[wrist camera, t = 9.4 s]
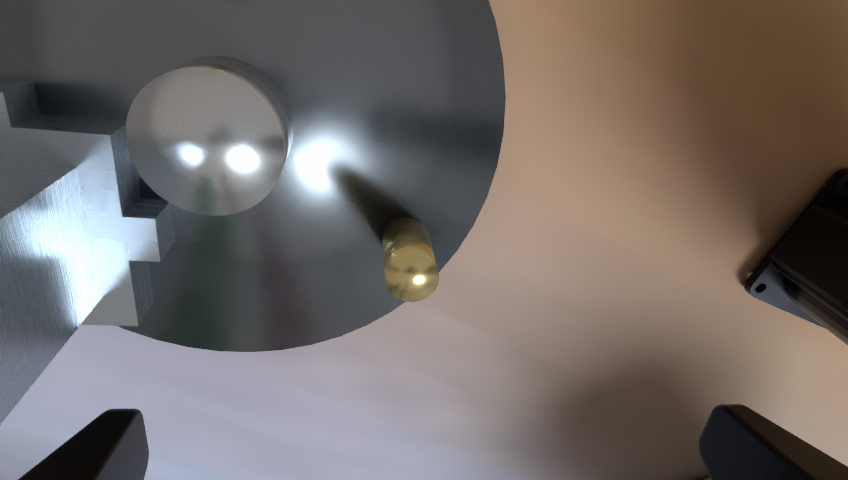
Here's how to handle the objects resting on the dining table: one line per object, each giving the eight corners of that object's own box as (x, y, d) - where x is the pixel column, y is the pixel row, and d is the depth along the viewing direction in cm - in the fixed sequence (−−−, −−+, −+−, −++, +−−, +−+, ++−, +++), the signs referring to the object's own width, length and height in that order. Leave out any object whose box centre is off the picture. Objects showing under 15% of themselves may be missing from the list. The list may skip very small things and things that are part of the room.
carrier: (599, -24, 18) (659, -23, 14) (374, 385, 25) (376, 455, 21) (-51, -417, 12) (-217, -576, 9) (-104, 246, 19) (-209, 308, 16)
